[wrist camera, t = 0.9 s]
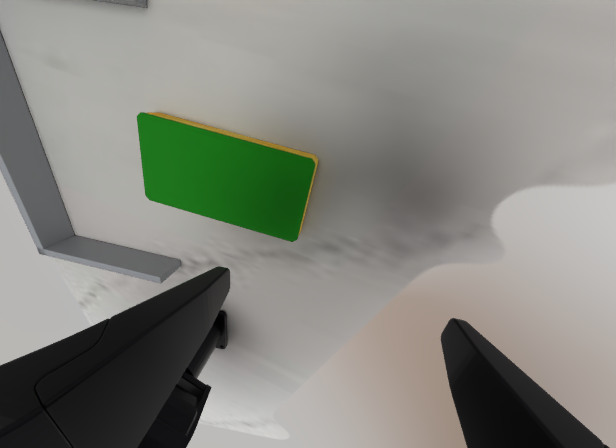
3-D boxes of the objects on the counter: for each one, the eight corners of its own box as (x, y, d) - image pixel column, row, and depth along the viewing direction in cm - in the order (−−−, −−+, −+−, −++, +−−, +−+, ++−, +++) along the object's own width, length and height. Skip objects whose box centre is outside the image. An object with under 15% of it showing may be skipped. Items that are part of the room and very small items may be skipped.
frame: (180, 265, 25) (161, 283, 23) (70, 239, 27) (39, 253, 24) (145, -9, 15) (101, -35, 12) (-33, -32, 16) (-107, -60, 14)
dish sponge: (301, 230, 21) (295, 243, 19) (164, 191, 22) (144, 199, 20) (320, 155, 18) (316, 161, 16) (159, 111, 19) (134, 111, 17)
